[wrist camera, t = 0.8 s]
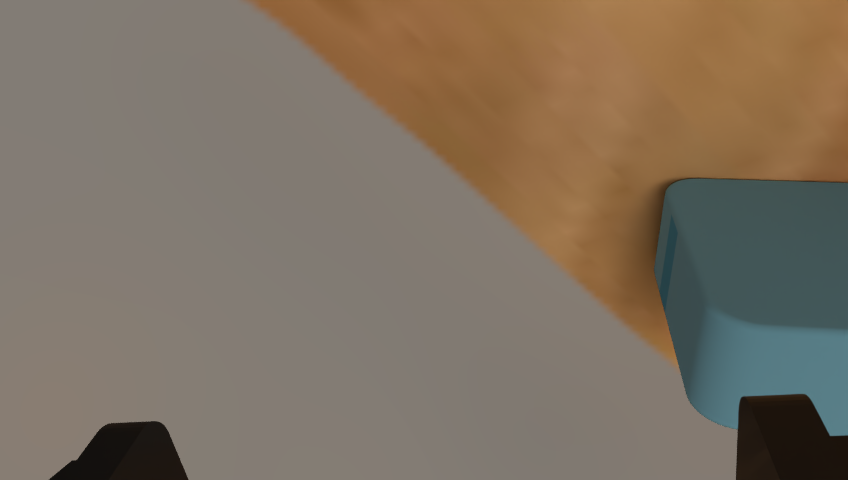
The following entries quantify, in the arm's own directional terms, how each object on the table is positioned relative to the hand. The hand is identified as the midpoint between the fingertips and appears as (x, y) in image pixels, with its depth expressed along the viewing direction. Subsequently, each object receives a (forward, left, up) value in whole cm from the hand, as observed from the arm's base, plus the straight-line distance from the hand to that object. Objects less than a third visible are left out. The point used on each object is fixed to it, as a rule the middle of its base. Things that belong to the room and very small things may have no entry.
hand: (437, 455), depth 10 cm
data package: (+10, +12, -25) cm, 30 cm away
